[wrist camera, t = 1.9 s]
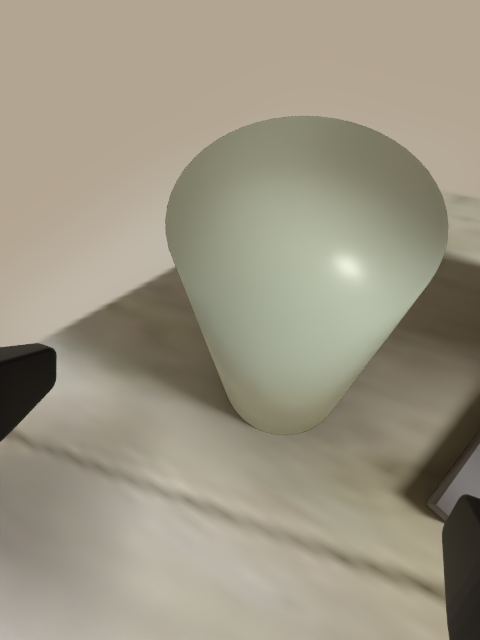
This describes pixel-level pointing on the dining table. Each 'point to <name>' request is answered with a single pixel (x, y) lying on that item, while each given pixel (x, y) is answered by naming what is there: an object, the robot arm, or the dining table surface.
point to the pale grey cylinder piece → (302, 258)
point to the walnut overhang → (458, 481)
